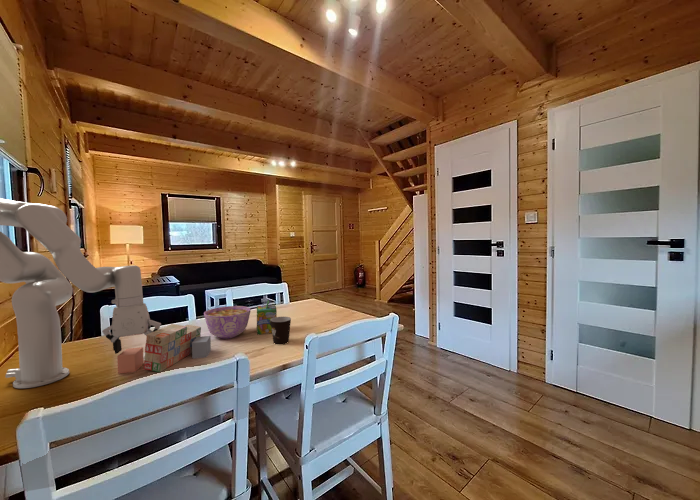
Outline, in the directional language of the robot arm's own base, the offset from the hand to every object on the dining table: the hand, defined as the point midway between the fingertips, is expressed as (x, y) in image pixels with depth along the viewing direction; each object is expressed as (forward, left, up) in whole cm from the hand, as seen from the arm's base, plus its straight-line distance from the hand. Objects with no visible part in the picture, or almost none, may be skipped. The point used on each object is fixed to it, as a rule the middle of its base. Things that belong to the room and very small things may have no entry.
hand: (134, 350), depth 105 cm
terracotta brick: (-1, 0, -6) cm, 6 cm away
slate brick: (+20, +7, -6) cm, 22 cm away
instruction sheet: (+2, +11, -6) cm, 13 cm away
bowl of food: (+27, +28, -6) cm, 39 cm away
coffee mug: (+50, +14, -6) cm, 52 cm away
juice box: (+44, +30, -6) cm, 53 cm away
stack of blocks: (+11, +4, -6) cm, 13 cm away
